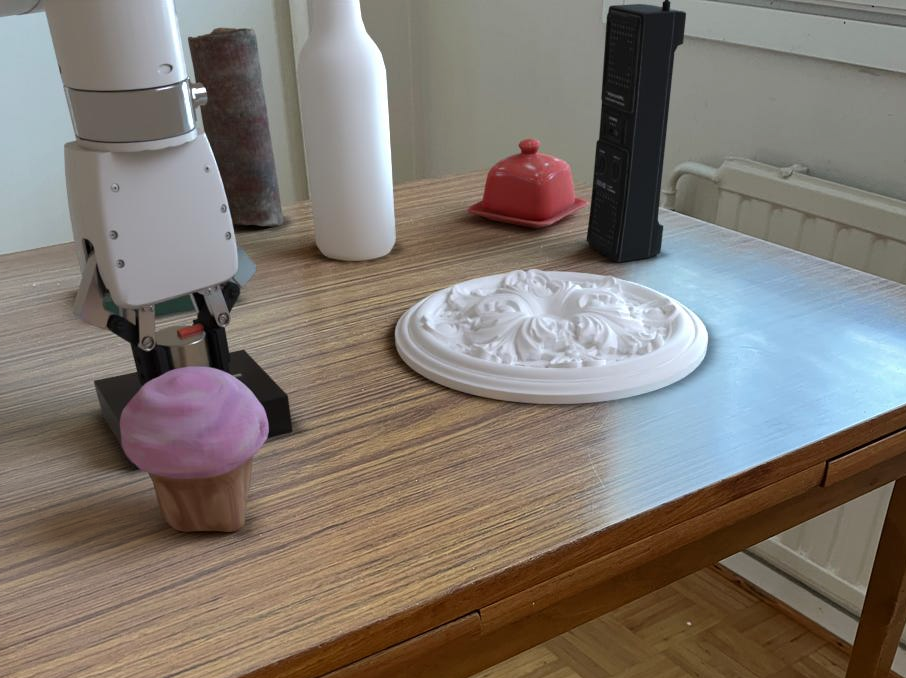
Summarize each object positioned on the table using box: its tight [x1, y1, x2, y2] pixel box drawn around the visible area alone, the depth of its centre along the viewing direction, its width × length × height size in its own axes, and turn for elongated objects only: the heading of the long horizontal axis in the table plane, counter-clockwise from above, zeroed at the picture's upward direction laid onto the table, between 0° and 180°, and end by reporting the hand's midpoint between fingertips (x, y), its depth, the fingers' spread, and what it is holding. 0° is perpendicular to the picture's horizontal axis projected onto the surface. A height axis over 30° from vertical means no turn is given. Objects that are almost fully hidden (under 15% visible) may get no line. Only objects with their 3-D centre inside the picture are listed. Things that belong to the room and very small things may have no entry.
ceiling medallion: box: [394, 268, 709, 405], centre depth 88 cm, size 28×28×3 cm
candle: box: [187, 27, 284, 228], centre depth 110 cm, size 8×7×20 cm
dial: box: [155, 323, 213, 371], centre depth 72 cm, size 4×4×4 cm
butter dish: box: [466, 138, 590, 229], centre depth 115 cm, size 12×12×8 cm
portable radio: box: [585, 0, 687, 263], centre depth 100 cm, size 8×6×25 cm
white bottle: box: [297, 0, 397, 262], centre depth 99 cm, size 9×9×30 cm
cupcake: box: [120, 367, 269, 533], centre depth 62 cm, size 9×9×10 cm
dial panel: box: [93, 349, 294, 471], centre depth 75 cm, size 12×10×3 cm
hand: (188, 383), depth 73 cm, fingers closed on dial, 4 cm apart
